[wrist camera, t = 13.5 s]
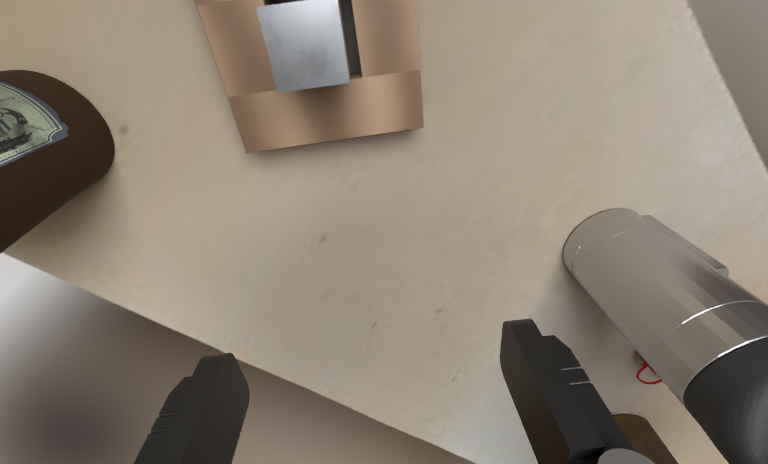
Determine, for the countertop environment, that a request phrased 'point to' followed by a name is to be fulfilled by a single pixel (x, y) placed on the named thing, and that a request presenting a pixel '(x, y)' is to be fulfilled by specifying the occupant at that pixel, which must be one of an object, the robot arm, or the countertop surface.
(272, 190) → the countertop surface
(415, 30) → the socket block
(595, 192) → the countertop surface
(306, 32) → the square peg
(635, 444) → the wooden container
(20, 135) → the brown bottle
